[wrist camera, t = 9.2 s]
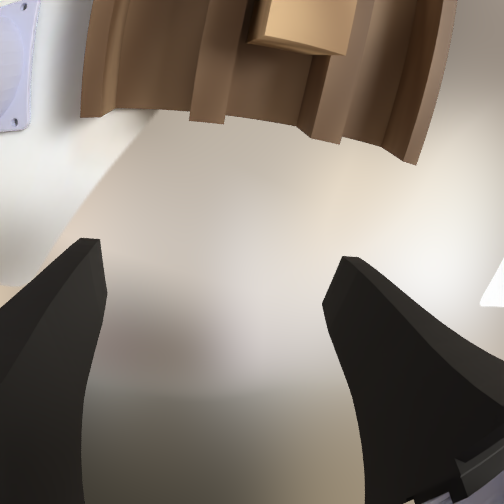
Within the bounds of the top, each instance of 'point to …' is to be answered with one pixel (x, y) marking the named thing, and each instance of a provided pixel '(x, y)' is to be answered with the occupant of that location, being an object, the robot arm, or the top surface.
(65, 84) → the top surface
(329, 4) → the tall wooden plank
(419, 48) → the notched ledge
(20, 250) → the top surface
